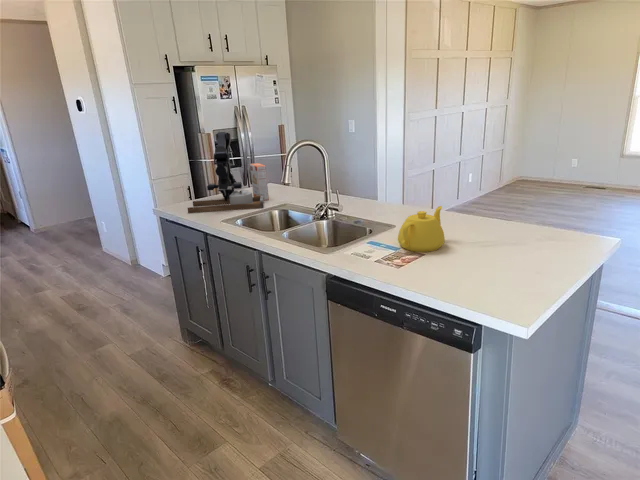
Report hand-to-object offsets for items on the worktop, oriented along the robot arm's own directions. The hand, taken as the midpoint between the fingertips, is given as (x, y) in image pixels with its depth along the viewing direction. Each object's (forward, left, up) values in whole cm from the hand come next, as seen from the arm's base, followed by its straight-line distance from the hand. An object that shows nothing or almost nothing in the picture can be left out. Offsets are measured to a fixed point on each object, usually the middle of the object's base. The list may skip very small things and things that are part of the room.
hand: (226, 201), depth 244 cm
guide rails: (0, 0, -4) cm, 4 cm away
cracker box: (-17, +19, -4) cm, 25 cm away
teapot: (+88, +85, -4) cm, 123 cm away
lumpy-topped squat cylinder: (0, +8, -4) cm, 9 cm away
